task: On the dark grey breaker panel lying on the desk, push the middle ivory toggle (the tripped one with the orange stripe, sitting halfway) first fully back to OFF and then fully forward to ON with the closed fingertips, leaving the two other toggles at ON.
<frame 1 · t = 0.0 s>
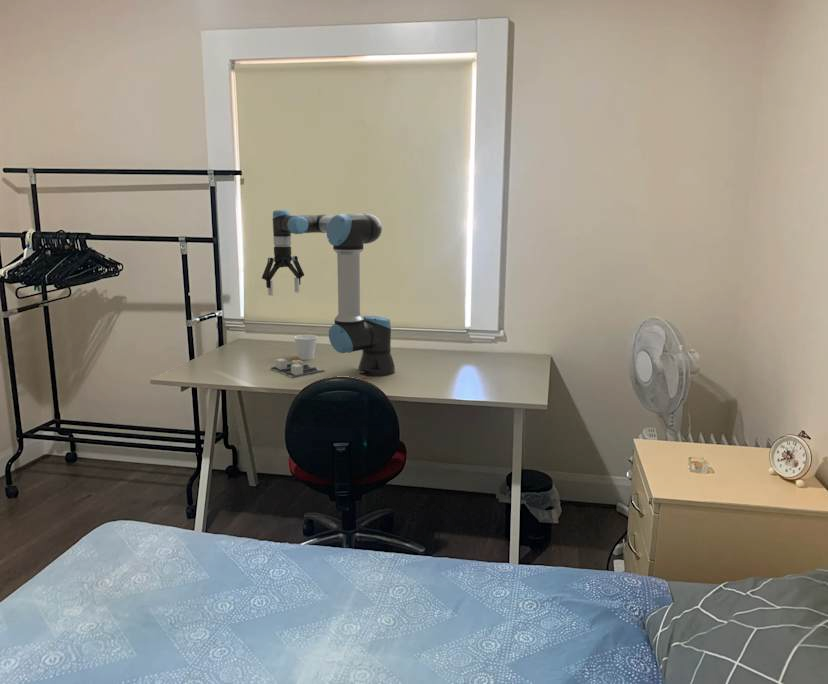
hand: (284, 293, 309), 28 cm above the table, fingers open, 13 cm apart
toggle b: (297, 365, 283), point 4 cm above the table, slide at 0.0 cm
cup: (306, 361, 304), on the table
panel: (297, 373, 283), on the table
toggle a: (297, 369, 276), point 4 cm above the table, slide at 4.0 cm
toggle c: (281, 364, 284), point 4 cm above the table, slide at 4.0 cm
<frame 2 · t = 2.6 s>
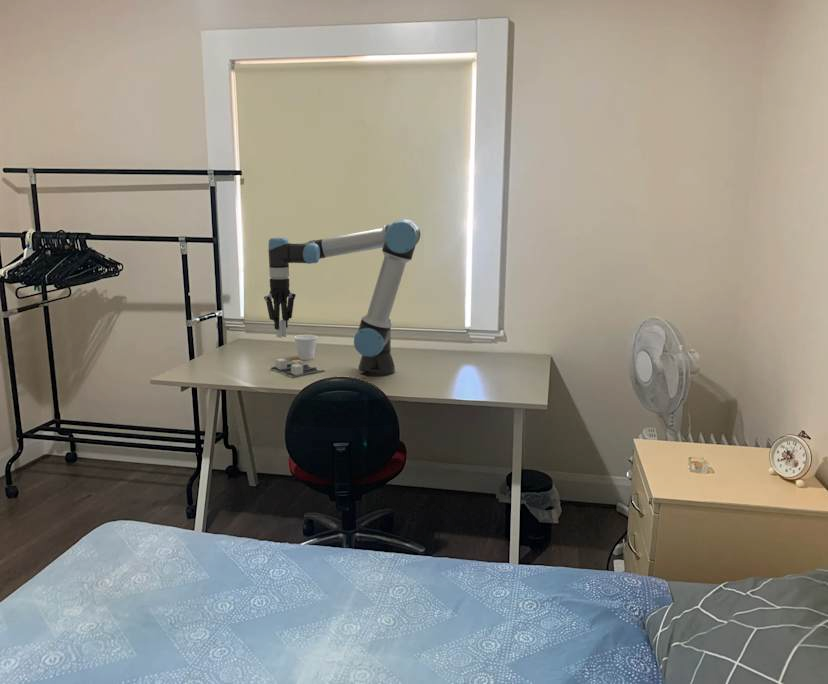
hand: (281, 336, 275), 16 cm above the table, fingers closed
nothing on the table moved.
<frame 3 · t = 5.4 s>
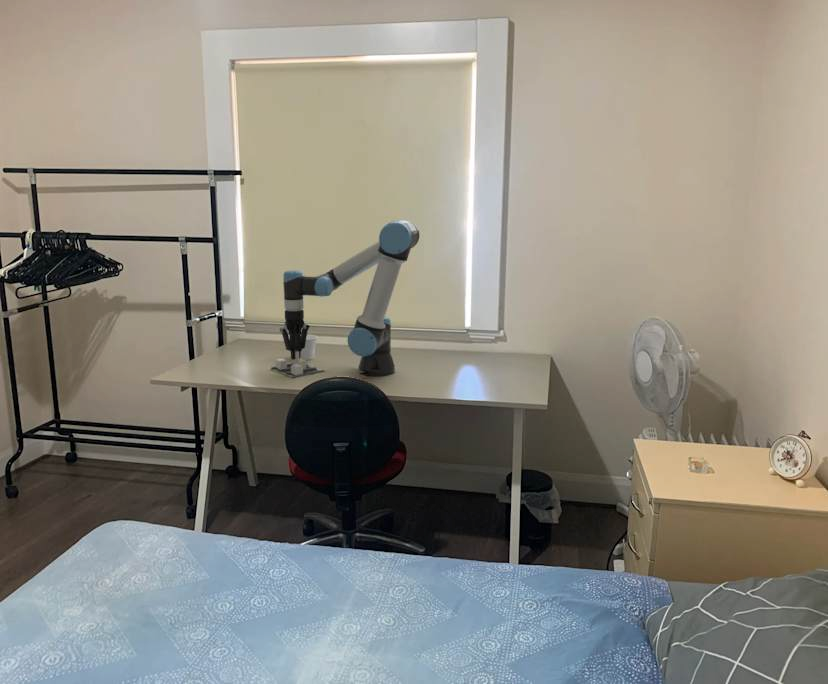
hand: (296, 366, 282), 3 cm above the table, fingers closed
toggle b: (300, 364, 284), point 4 cm above the table, slide at -1.5 cm, touching gripper
everything else where it was.
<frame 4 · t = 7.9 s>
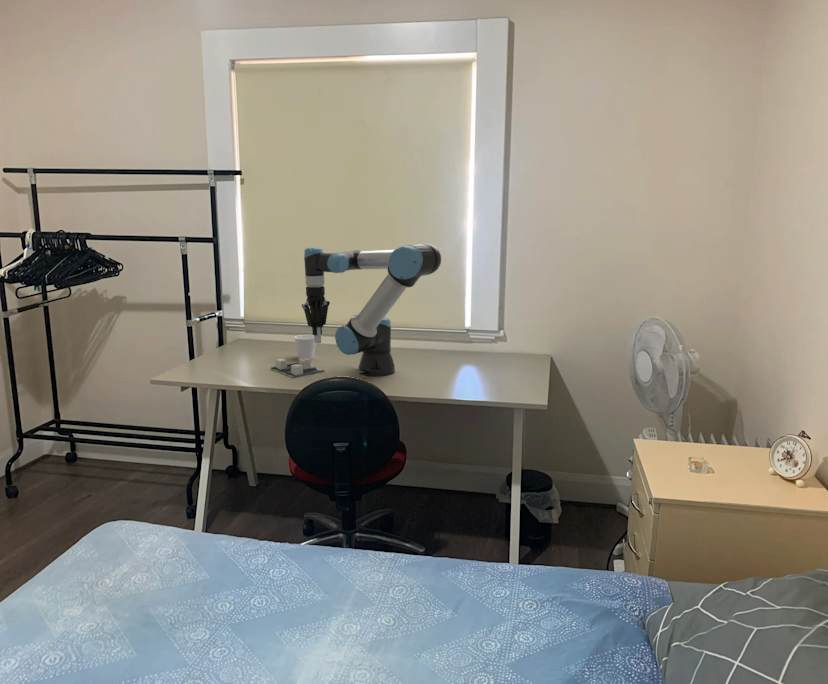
hand: (317, 342, 286), 12 cm above the table, fingers closed
toggle b: (304, 363, 285), point 4 cm above the table, slide at -3.5 cm
everything else where it was.
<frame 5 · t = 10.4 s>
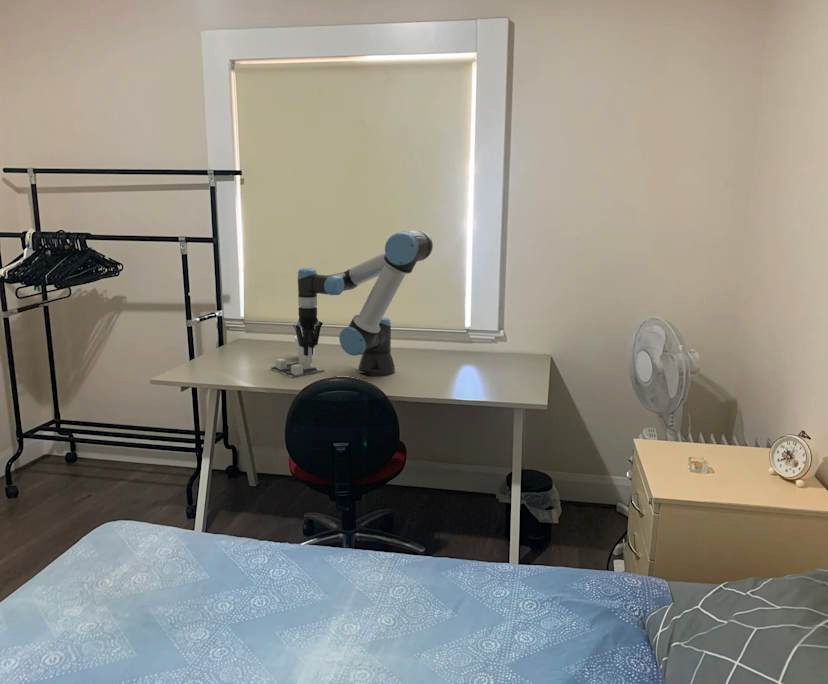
hand: (308, 362, 287), 4 cm above the table, fingers closed
toggle b: (304, 363, 285), point 4 cm above the table, slide at -3.5 cm, touching gripper
everything else where it was.
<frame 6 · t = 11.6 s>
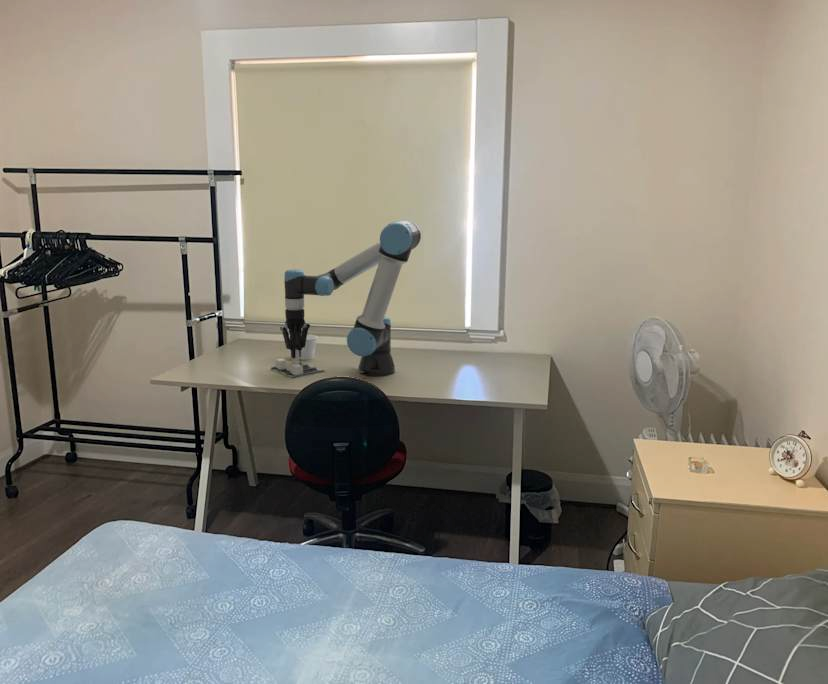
hand: (296, 365, 283), 4 cm above the table, fingers closed
toggle b: (291, 366, 281), point 4 cm above the table, slide at 2.7 cm, touching gripper
everything else where it was.
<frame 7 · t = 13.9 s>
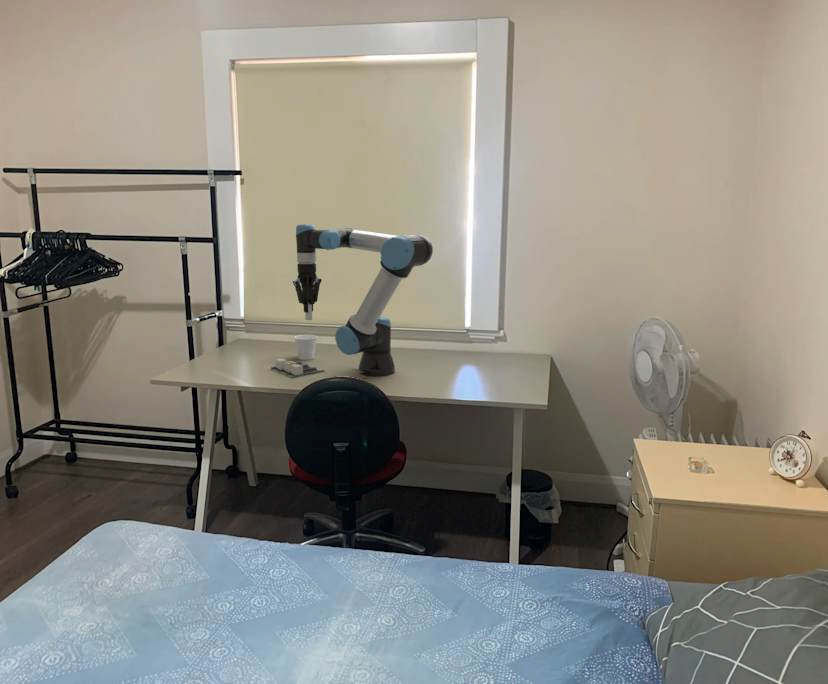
hand: (308, 319, 287), 21 cm above the table, fingers closed
toggle b: (290, 366, 280), point 4 cm above the table, slide at 3.5 cm
everything else where it was.
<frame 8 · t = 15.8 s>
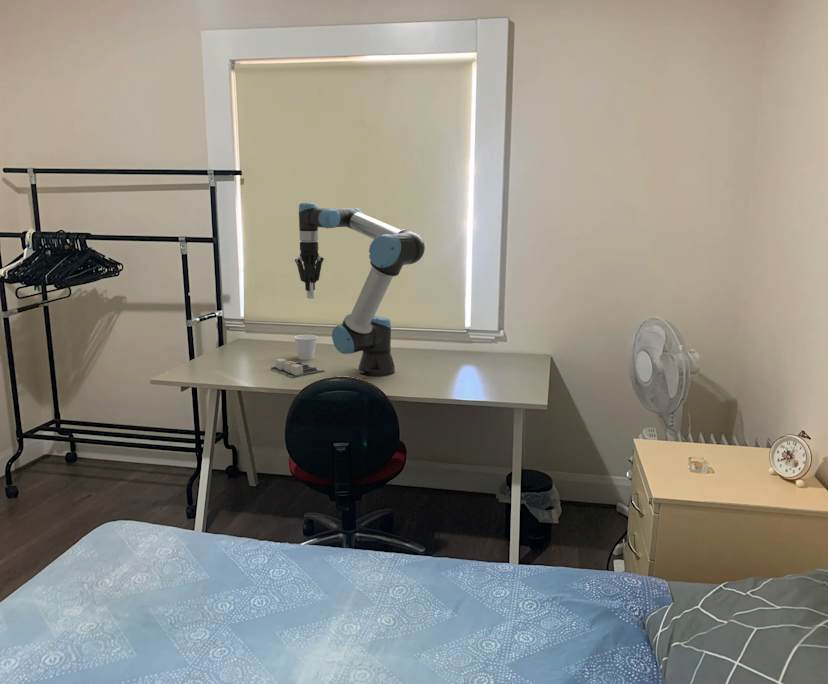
hand: (310, 298, 289), 29 cm above the table, fingers closed
nothing on the table moved.
at the end: toggle b slide at 3.5 cm; toggle a slide at 4.0 cm; toggle c slide at 4.0 cm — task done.
